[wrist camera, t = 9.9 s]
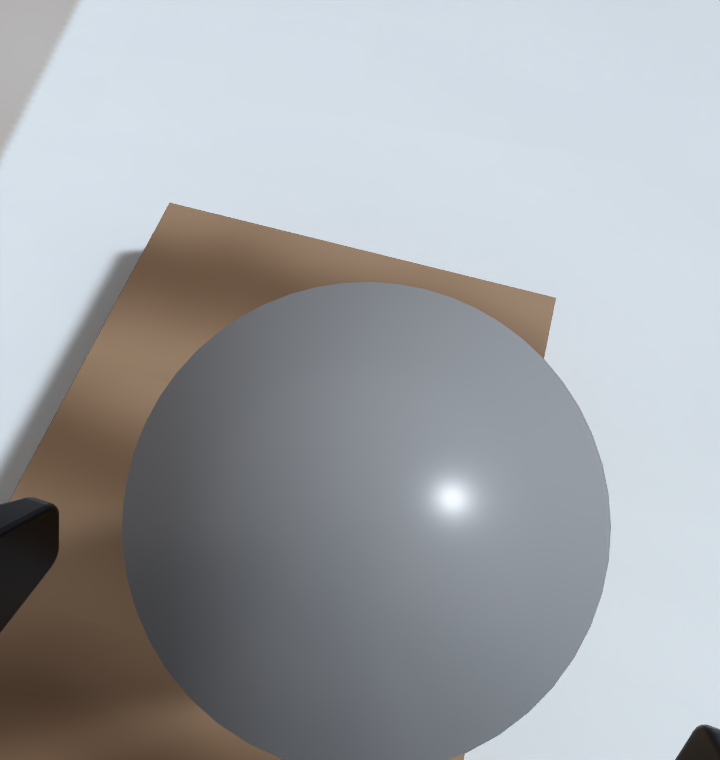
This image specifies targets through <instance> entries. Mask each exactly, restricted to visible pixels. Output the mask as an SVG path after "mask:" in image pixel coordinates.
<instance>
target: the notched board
mask: <svg viewBox="0 0 720 760" xmlns="http://www.w3.org/2000/svg"><path fill="white" fill-rule="evenodd" d="M356 282H378V283H391V284H401V285H406V286H411V287H416V288H422V289H426V290H429V291H433V292H436V293H439V294H442V295H446V296H449V297H452V298H454V299H456V300H458V301H461V302H463V303H465V304H468V305H470V306H472V307H475V308H477V309H478V310H480V311H482V312H484V313H485V314H487V315H489V316H490V317H492V318H494V319H496V320H497V321H499V322H501V323H502V324H503V325H505V326H506V327H507V328H509V329H510V330H511V331H513V332H514V333H515V334H517V335H518V336H519V337H521V338H522V339H523V340H524V341H525V342H526V343H528V344H529V345H530V346H531V347H532V348H533V349H534V350H535V351H536V352H537V353H538V354H539V355H540V356H541V357H542V358H543V359H544V355H545V350H546V345H547V340H548V335H549V330H550V325H551V320H552V315H553V310H554V305H555V300H556V298H554V297H550V296H546V295H542V294H538V293H534V292H530V291H526V290H522V289H518V288H513V287H509V286H505V285H501V284H497V283H493V282H489V281H485V280H481V279H477V278H473V277H469V276H465V275H461V274H457V273H453V272H449V271H445V270H440V269H436V268H432V267H428V266H424V265H420V264H416V263H412V262H408V261H404V260H400V259H396V258H392V257H388V256H384V255H380V254H376V253H372V252H368V251H363V250H359V249H355V248H351V247H347V246H343V245H339V244H335V243H331V242H327V241H323V240H319V239H315V238H311V237H307V236H303V235H299V234H295V233H290V232H286V231H282V230H278V229H274V228H270V227H266V226H262V225H258V224H254V223H250V222H246V221H242V220H238V219H234V218H230V217H226V216H222V215H218V214H213V213H209V212H205V211H201V210H197V209H193V208H189V207H185V206H181V205H177V204H173V203H169V205H168V207H167V209H166V210H165V212H164V214H163V216H162V218H161V220H160V222H159V223H158V225H157V227H156V229H155V231H154V233H153V235H152V236H151V238H150V240H149V242H148V244H147V246H146V248H145V249H144V251H143V253H142V255H141V257H140V259H139V261H138V262H137V264H136V266H135V268H134V270H133V272H132V274H131V275H130V277H129V279H128V281H127V283H126V285H125V287H124V288H123V290H122V292H121V294H120V296H119V298H118V300H117V301H116V303H115V305H114V307H113V309H112V311H111V313H110V314H109V316H108V318H107V320H106V322H105V324H104V326H103V327H102V329H101V331H100V333H99V335H98V337H97V339H96V340H95V342H94V344H93V346H92V348H91V350H90V352H89V353H88V355H87V357H86V359H85V361H84V363H83V365H82V366H81V368H80V370H79V372H78V374H77V376H76V378H75V379H74V381H73V383H72V385H71V387H70V389H69V391H68V392H67V394H66V396H65V398H64V400H63V402H62V404H61V405H60V407H59V409H58V411H57V413H56V415H55V417H54V418H53V420H52V422H51V424H50V426H49V428H48V430H47V431H46V433H45V435H44V437H43V439H42V441H41V443H40V444H39V446H38V448H37V450H36V452H35V454H34V456H33V457H32V459H31V461H30V463H29V465H28V467H27V469H26V470H25V472H24V474H23V476H22V478H21V480H20V482H19V483H18V485H17V487H16V489H15V491H14V493H13V495H12V496H11V498H10V500H9V502H11V501H15V500H18V499H22V498H26V497H35V498H38V499H41V500H44V501H47V502H50V503H53V504H54V505H56V506H57V508H58V510H59V551H58V555H57V558H56V560H55V562H54V564H53V565H52V567H51V568H50V570H49V571H48V572H47V574H46V575H45V576H44V577H43V579H42V580H41V581H40V583H39V584H38V585H37V586H36V588H35V589H34V590H33V592H32V593H31V594H30V595H29V597H28V598H27V599H26V601H25V602H24V603H23V605H22V606H21V607H20V608H19V610H18V611H17V612H16V614H15V615H14V616H13V617H12V619H11V620H10V621H9V623H8V624H7V625H6V626H5V628H4V629H3V630H2V632H1V633H0V760H284V759H281V758H279V757H277V756H275V755H272V754H270V753H268V752H266V751H264V750H261V749H259V748H257V747H255V746H253V745H250V744H248V743H247V742H245V741H244V740H242V739H241V738H239V737H238V736H236V735H235V734H233V733H232V732H230V731H229V730H227V729H226V728H224V727H222V726H221V725H219V724H218V723H217V722H216V721H215V720H213V719H212V718H211V717H210V716H209V715H208V714H207V713H206V712H205V711H203V710H202V709H201V708H200V707H199V706H198V705H197V704H196V703H194V702H193V701H192V700H191V699H190V698H189V696H188V695H187V694H186V693H185V692H184V690H183V689H182V688H181V687H180V686H179V684H178V683H177V682H176V681H175V680H174V678H173V677H172V676H171V675H170V674H169V672H168V671H167V669H166V668H165V666H164V664H163V663H162V661H161V660H160V658H159V656H158V655H157V653H156V651H155V650H154V648H153V647H152V645H151V643H150V641H149V639H148V637H147V635H146V632H145V630H144V628H143V625H142V623H141V621H140V618H139V616H138V614H137V612H136V608H135V605H134V601H133V598H132V594H131V591H130V587H129V583H128V580H127V574H126V567H125V560H124V553H123V545H122V511H123V503H124V496H125V488H126V480H127V477H128V473H129V469H130V465H131V461H132V457H133V453H134V450H135V447H136V445H137V442H138V440H139V437H140V435H141V432H142V430H143V427H144V425H145V422H146V421H147V419H148V417H149V415H150V413H151V411H152V410H153V408H154V406H155V404H156V402H157V400H158V399H159V397H160V395H161V394H162V392H163V391H164V390H165V388H166V387H167V385H168V384H169V383H170V381H171V380H172V378H173V377H174V376H175V374H176V373H177V372H178V371H179V370H180V368H181V367H182V366H183V365H184V364H185V363H186V362H187V361H188V360H189V359H190V357H191V356H192V355H193V354H194V353H195V352H196V351H197V350H198V349H199V348H200V347H202V346H203V345H204V344H205V343H206V342H207V341H208V340H210V339H211V338H212V337H213V336H214V335H215V334H217V333H218V332H219V331H221V330H222V329H224V328H225V327H227V326H228V325H229V324H231V323H232V322H234V321H235V320H237V319H238V318H240V317H241V316H243V315H245V314H247V313H249V312H251V311H253V310H255V309H256V308H258V307H260V306H262V305H264V304H266V303H269V302H271V301H274V300H276V299H279V298H282V297H284V296H287V295H289V294H292V293H296V292H300V291H304V290H307V289H311V288H315V287H320V286H327V285H333V284H340V283H356ZM464 755H465V754H461V755H459V756H456V757H453V758H450V759H447V760H464Z"/></svg>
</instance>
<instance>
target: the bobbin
mask: <svg viewBox="0 0 720 760" xmlns="http://www.w3.org/2000/svg"><path fill="white" fill-rule="evenodd" d="M610 532H611V523H610V509H609V495H608V490H607V485H606V480H605V475H604V470H603V465H602V462H601V459H600V456H599V453H598V450H597V447H596V444H595V441H594V438H593V435H592V433H591V431H590V429H589V426H588V424H587V422H586V420H585V418H584V416H583V414H582V412H581V410H580V408H579V406H578V404H577V403H576V401H575V400H574V398H573V397H572V395H571V394H570V392H569V391H568V389H567V387H566V386H565V384H564V383H563V381H562V380H561V379H560V378H559V377H558V375H557V374H556V373H555V372H554V371H553V369H552V368H551V367H550V366H549V365H548V363H547V362H546V361H545V360H544V359H543V358H542V357H541V356H540V355H539V354H538V353H537V352H536V351H535V350H534V349H533V348H532V347H531V346H530V345H529V344H528V343H526V342H525V341H524V340H523V339H522V338H521V337H519V336H518V335H517V334H515V333H514V332H513V331H511V330H510V329H509V328H507V327H506V326H505V325H503V324H502V323H501V322H499V321H497V320H496V319H494V318H492V317H490V316H489V315H487V314H485V313H484V312H482V311H480V310H478V309H477V308H475V307H472V306H470V305H468V304H465V303H463V302H461V301H458V300H456V299H454V298H452V297H449V296H446V295H442V294H439V293H436V292H433V291H429V290H426V289H422V288H416V287H411V286H406V285H401V284H391V283H378V282H356V283H340V284H333V285H327V286H320V287H315V288H311V289H307V290H304V291H300V292H296V293H292V294H289V295H287V296H284V297H282V298H279V299H276V300H274V301H271V302H269V303H266V304H264V305H262V306H260V307H258V308H256V309H255V310H253V311H251V312H249V313H247V314H245V315H243V316H241V317H240V318H238V319H237V320H235V321H234V322H232V323H231V324H229V325H228V326H227V327H225V328H224V329H222V330H221V331H219V332H218V333H217V334H215V335H214V336H213V337H212V338H211V339H210V340H208V341H207V342H206V343H205V344H204V345H203V346H202V347H200V348H199V349H198V350H197V351H196V352H195V353H194V354H193V355H192V356H191V357H190V359H189V360H188V361H187V362H186V363H185V364H184V365H183V366H182V367H181V368H180V370H179V371H178V372H177V373H176V374H175V376H174V377H173V378H172V380H171V381H170V383H169V384H168V385H167V387H166V388H165V390H164V391H163V392H162V394H161V395H160V397H159V399H158V400H157V402H156V404H155V406H154V408H153V410H152V411H151V413H150V415H149V417H148V419H147V421H146V422H145V425H144V427H143V430H142V432H141V435H140V437H139V440H138V442H137V445H136V447H135V450H134V453H133V457H132V461H131V465H130V469H129V473H128V477H127V480H126V488H125V496H124V503H123V511H122V545H123V553H124V560H125V567H126V574H127V580H128V583H129V587H130V591H131V594H132V598H133V601H134V605H135V608H136V612H137V614H138V616H139V618H140V621H141V623H142V625H143V628H144V630H145V632H146V635H147V637H148V639H149V641H150V643H151V645H152V647H153V648H154V650H155V651H156V653H157V655H158V656H159V658H160V660H161V661H162V663H163V664H164V666H165V668H166V669H167V671H168V672H169V674H170V675H171V676H172V677H173V678H174V680H175V681H176V682H177V683H178V684H179V686H180V687H181V688H182V689H183V690H184V692H185V693H186V694H187V695H188V696H189V698H190V699H191V700H192V701H193V702H194V703H196V704H197V705H198V706H199V707H200V708H201V709H202V710H203V711H205V712H206V713H207V714H208V715H209V716H210V717H211V718H212V719H213V720H215V721H216V722H217V723H218V724H219V725H221V726H222V727H224V728H226V729H227V730H229V731H230V732H232V733H233V734H235V735H236V736H238V737H239V738H241V739H242V740H244V741H245V742H247V743H248V744H250V745H253V746H255V747H257V748H259V749H261V750H264V751H266V752H268V753H270V754H272V755H275V756H277V757H279V758H281V759H284V760H447V759H450V758H453V757H456V756H459V755H461V754H464V753H467V752H468V751H470V750H472V749H474V748H476V747H478V746H479V745H481V744H483V743H485V742H487V741H489V740H490V739H492V738H494V737H496V736H498V735H499V734H501V733H502V732H503V731H505V730H506V729H507V728H509V727H510V726H511V725H513V724H514V723H515V722H516V721H518V720H519V719H520V718H522V717H523V716H524V715H526V714H527V713H528V712H529V711H530V710H531V709H532V708H533V707H534V706H535V705H536V704H537V703H538V702H539V701H540V700H541V699H542V698H543V697H544V696H545V695H546V694H547V693H548V692H549V691H550V690H551V689H552V687H553V686H554V685H555V684H556V682H557V681H558V679H559V678H560V677H561V675H562V674H563V673H564V671H565V670H566V668H567V667H568V666H569V664H570V663H571V661H572V660H573V659H574V657H575V655H576V653H577V651H578V649H579V647H580V646H581V644H582V642H583V640H584V638H585V636H586V634H587V632H588V630H589V628H590V626H591V624H592V621H593V618H594V615H595V612H596V609H597V606H598V604H599V601H600V598H601V595H602V591H603V586H604V581H605V576H606V571H607V566H608V561H609V547H610Z"/></svg>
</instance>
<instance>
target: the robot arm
mask: <svg viewBox="0 0 720 760" xmlns="http://www.w3.org/2000/svg"><path fill="white" fill-rule="evenodd" d="M58 551H59V510H58V508H57V506H56V505H54V504H53V503H50V502H47V501H44V500H41V499H38V498H35V497H26V498H22V499H18V500H15V501H11V502H7V503H4V504H0V633H1V632H2V630H3V629H4V628H5V626H6V625H7V624H8V623H9V621H10V620H11V619H12V617H13V616H14V615H15V614H16V612H17V611H18V610H19V608H20V607H21V606H22V605H23V603H24V602H25V601H26V599H27V598H28V597H29V595H30V594H31V593H32V592H33V590H34V589H35V588H36V586H37V585H38V584H39V583H40V581H41V580H42V579H43V577H44V576H45V575H46V574H47V572H48V571H49V570H50V568H51V567H52V565H53V564H54V562H55V560H56V558H57V555H58ZM675 760H720V729H718V728H715V727H712V726H709V725H700V726H698V727H696V729H695V730H694V731H693V733H692V734H691V736H690V737H689V739H688V740H687V742H686V744H685V745H684V747H683V748H682V750H681V751H680V753H679V755H678V756H677V758H676V759H675Z"/></svg>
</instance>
